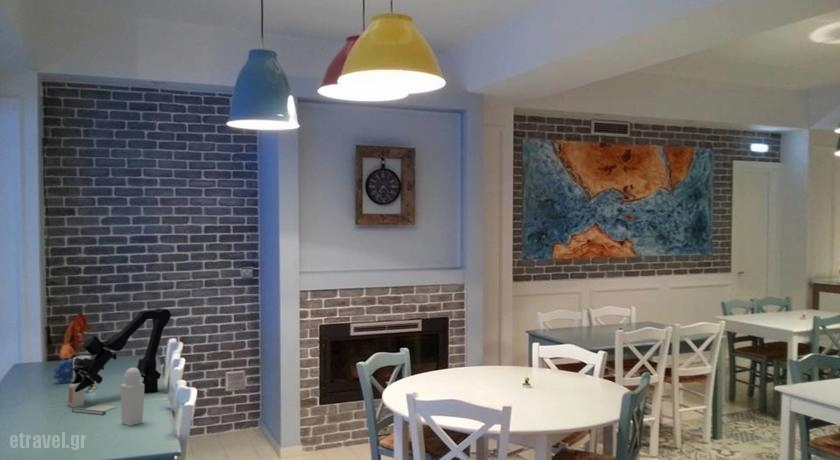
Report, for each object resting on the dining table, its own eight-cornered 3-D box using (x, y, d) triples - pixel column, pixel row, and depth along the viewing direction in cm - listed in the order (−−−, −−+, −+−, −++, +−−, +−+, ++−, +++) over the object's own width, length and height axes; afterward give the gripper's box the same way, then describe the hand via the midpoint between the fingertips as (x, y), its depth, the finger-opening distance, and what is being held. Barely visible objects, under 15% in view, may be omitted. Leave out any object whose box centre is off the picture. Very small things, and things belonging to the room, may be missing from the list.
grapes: (80, 380, 329) (80, 356, 329) (80, 383, 323) (80, 358, 323) (54, 382, 324) (54, 358, 324) (53, 385, 318) (53, 360, 318)
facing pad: (116, 407, 280) (116, 406, 280) (99, 413, 270) (99, 412, 270) (97, 405, 283) (97, 404, 283) (79, 411, 273) (79, 410, 273)
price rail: (105, 414, 270) (105, 411, 270) (103, 415, 268) (103, 412, 268) (74, 410, 274) (74, 408, 274) (71, 411, 273) (71, 408, 273)
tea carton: (79, 403, 286) (79, 382, 286) (83, 405, 283) (84, 384, 283) (68, 405, 282) (68, 384, 282) (72, 407, 279) (72, 386, 279)
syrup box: (83, 387, 313) (83, 357, 313) (72, 387, 314) (72, 357, 314) (91, 385, 319) (91, 355, 319) (80, 384, 320) (81, 355, 320)
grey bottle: (129, 426, 254) (130, 370, 254) (119, 423, 257) (120, 368, 257) (144, 422, 259) (145, 367, 259) (134, 419, 263) (135, 365, 263)
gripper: (77, 347, 292) (50, 376, 283) (95, 353, 280) (67, 383, 271) (95, 362, 298) (69, 391, 289) (113, 368, 286) (87, 398, 277)
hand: (73, 390), depth 282 cm, fingers closed on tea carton, 5 cm apart
